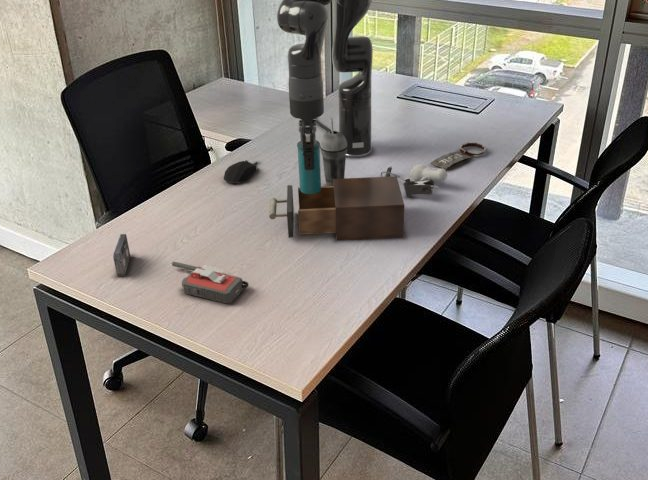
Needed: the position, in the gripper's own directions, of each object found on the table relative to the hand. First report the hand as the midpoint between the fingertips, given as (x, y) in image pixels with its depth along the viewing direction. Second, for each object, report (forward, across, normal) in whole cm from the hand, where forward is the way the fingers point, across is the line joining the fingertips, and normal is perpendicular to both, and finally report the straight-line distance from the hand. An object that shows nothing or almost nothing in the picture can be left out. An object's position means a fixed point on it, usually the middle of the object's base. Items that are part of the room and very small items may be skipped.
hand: (309, 163), depth 169 cm
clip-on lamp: (+17, +18, -26) cm, 36 cm away
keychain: (+17, +35, -43) cm, 58 cm away
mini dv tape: (+17, -15, +42) cm, 48 cm away
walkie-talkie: (+17, -24, +24) cm, 38 cm away
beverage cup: (+17, +20, -6) cm, 27 cm away
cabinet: (+16, 0, -13) cm, 21 cm away
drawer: (+16, 0, +1) cm, 16 cm away
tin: (+7, 0, 0) cm, 7 cm away
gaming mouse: (+17, +30, +19) cm, 39 cm away
